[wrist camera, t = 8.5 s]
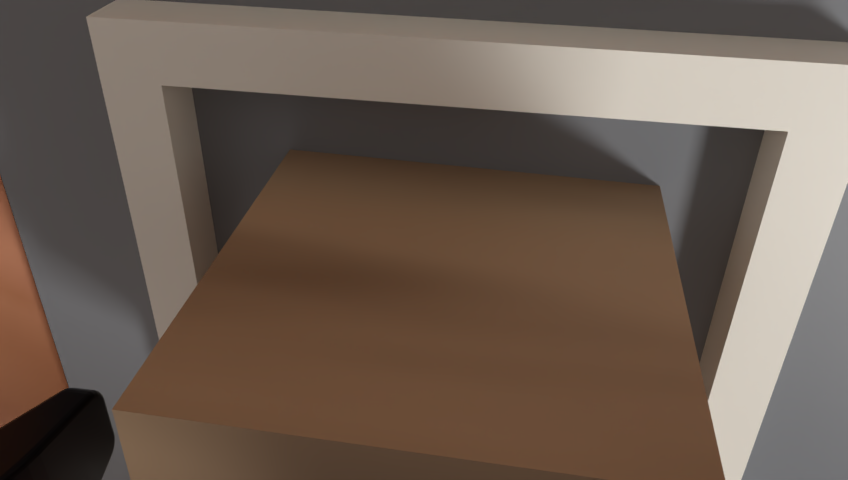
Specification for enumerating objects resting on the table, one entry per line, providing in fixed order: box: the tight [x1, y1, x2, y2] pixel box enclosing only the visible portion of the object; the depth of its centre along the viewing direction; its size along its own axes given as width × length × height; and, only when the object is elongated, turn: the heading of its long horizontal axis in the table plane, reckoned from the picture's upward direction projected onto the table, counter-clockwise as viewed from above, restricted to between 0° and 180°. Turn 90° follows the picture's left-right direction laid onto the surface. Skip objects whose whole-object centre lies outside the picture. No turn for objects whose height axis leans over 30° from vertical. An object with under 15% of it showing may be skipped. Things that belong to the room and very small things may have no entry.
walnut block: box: [112, 149, 725, 480], centre depth 10 cm, size 5×5×5 cm
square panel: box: [0, 0, 848, 480], centre depth 12 cm, size 14×14×1 cm
